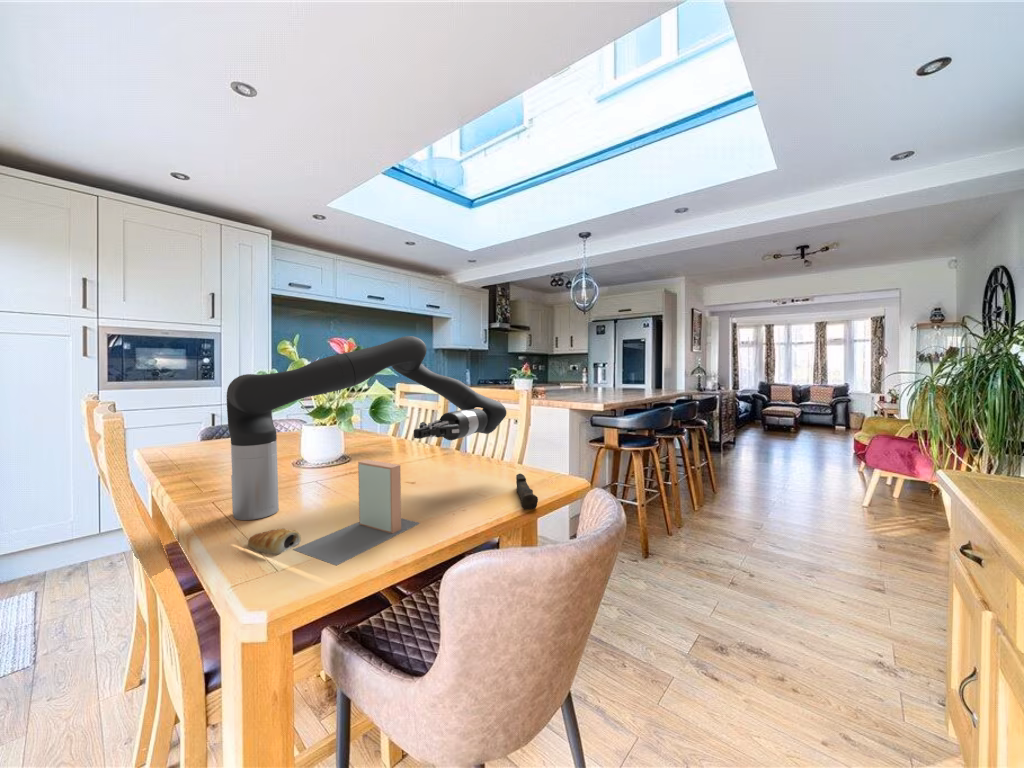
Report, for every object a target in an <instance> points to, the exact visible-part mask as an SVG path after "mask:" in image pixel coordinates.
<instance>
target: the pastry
mask: <svg viewBox="0 0 1024 768" xmlns="http://www.w3.org/2000/svg"><path fill="white" fill-rule="evenodd" d="M301 540H302V538H301V535H300V533H299V532H298V531H296V529H294V530H291V529H287V528H277V529H269V530H268V531H267V530H266V531H264V532H260V533H256V534H254V535H252V536H250V537H249V539H248V542H247V545H248V546H249V547H250V548H252V549H253V550H254V551H256V552H257V553H265V554H269V555H275V556H276V555H280V554H282V553H284V552H285V551H287V550H290V549H291V548H294V547H296V546H298V545H300V543H301V542H302V541H301Z"/></svg>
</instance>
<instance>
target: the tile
mask: <svg viewBox="0 0 1024 768" xmlns="http://www.w3.org/2000/svg"><path fill="white" fill-rule="evenodd" d="M357 466H358V467H357V468H358V474H357V475H358V512H359V513H358V516H359V518H358V519H359V520H358V522H359V524H360V525H363V526H367V527H370V528H374V529H378V530H381V531H385V532H388V533H392V534H393V533H395V532H397V531H399V530H401V518H402V496H401V495H402V493H401V492H402V490H401V489H402V487H401V485H402V484H401V483H402V482H401V480H402V478H401V465H400V464H396V463H390V462H384V461H378V460H373V459H365V460H360V461H358V462H357Z"/></svg>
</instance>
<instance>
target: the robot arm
mask: <svg viewBox="0 0 1024 768" xmlns="http://www.w3.org/2000/svg"><path fill="white" fill-rule="evenodd" d="M426 354H427V345H426V343H425V342H424V341H423V340H422V339H420V338H419V337H417V336H413V335H412V336H410V335H407V336H406V335H405V336H401V337H399V338H396V339H393V340H389V341H387V342H384V343H381V344H378V345H374V346H370V347H365V348H361V349H358V350H353V351H349V352H348V351H347V352H343V353H339V354H335V355H330V356H326V357H323V358H319V359H317V360H315V361H313V362H310V363H308V364H305V365H304V366H301V367H297V368H294V369H291V370H287V371H286V370H285V371H281V372H273V373H266V374H264V373H263V374H254V373H253V374H252V373H250V374H249V373H247V374H241V375H239V376H237V377H236V378H234V379H233V380H231V382H230V383H229V385H228V386H227V389H226V411H227V412H226V414H227V427H228V432H229V436H230V452H231V453H230V454H231V455H230V456H231V457H230V458H231V476H230V477H231V500H232V501H231V503H232V504H231V505H232V515H233V518H234V519H235V520H239V521H251V520H257V519H258V520H259V519H263V518H266V517H269V516H272V515H274V514H276V513H278V511H279V479H278V478H279V477H278V474H279V473H278V472H279V471H278V442H277V439H278V438H277V436H278V435H277V429H276V427H275V424H274V421H273V412H272V411H273V410H275V409H278V408H281V407H283V406H286V405H289V404H290V403H293V402H296V401H299V400H302V399H305V398H310V397H315V396H319V395H324V394H328V393H333V392H338V391H341V390H344V389H347V388H351V387H355V386H358V385H360V384H362V383H364V382H366V381H367V380H369V379H371V378H372V377H374V376H375V375H377V374H379V373H381V372H382V371H383V370H385V369H387V368H389V367H391V368H392V369H393V370H394V371H396V372H397V373H399V374H400V375H401V376H403V377H405V378H407V379H410V380H411V381H414V382H416V383H417V384H419V385H421V386H423V387H425V388H427V389H429V390H431V391H433V392H434V393H436V394H437V395H440V396H441V397H443V398H445V399H446V400H447V401H448V402H450V403H452V405H454V406H456V407H457V409H459V410H455V411H450V412H449V411H448V412H446V413H443V414H442V415H441V417H440V418H439V419H437V420H434V421H431V422H428V423H427V422H424V421H422V422H420V424H419V426H418V427H419V428H415V429H414V430H413V438H414V439H416V440H417V439H418V440H421V439H424V438H433V437H434V438H444V439H445V440H448V441H455V440H459V439H462V438H466V437H469V436H470V435H474V434H478V433H480V434H485V435H488V434H491V433H493V432H494V431H495V430H496V429H497V428H498V426H499V425H500V424H501V423H502V421H504V419H505V418H506V417H507V409H506V407H505V405H503V404H502V403H501V402H500V401H498V400H495V399H494V398H490V397H487V396H485V395H483V394H480V393H478V392H476V391H475V390H474V389H472V388H471V387H470V386H468V385H466V384H465V383H464V382H463V381H461V380H459V379H457V378H453V377H450V376H446V375H442V374H438V373H436V372H433V371H432V370H430V369H428V368H427V367H426V366H424V365H423V364H422V363H423V361H425V360H424V359H425V357H426Z"/></svg>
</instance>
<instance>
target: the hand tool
mask: <svg viewBox="0 0 1024 768" xmlns="http://www.w3.org/2000/svg"><path fill="white" fill-rule="evenodd" d="M515 479H516V493H518V495H519V497H520V501H521V508H522V509H523V510H534V509H536V508H537V507H538V501H539V497H538V496H537V495H535V494H534V490H533V489H531V487H530V486H529V485H528V483H527V478H526V476H525V475H524V474H522V473H518V474H516V477H515Z"/></svg>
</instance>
